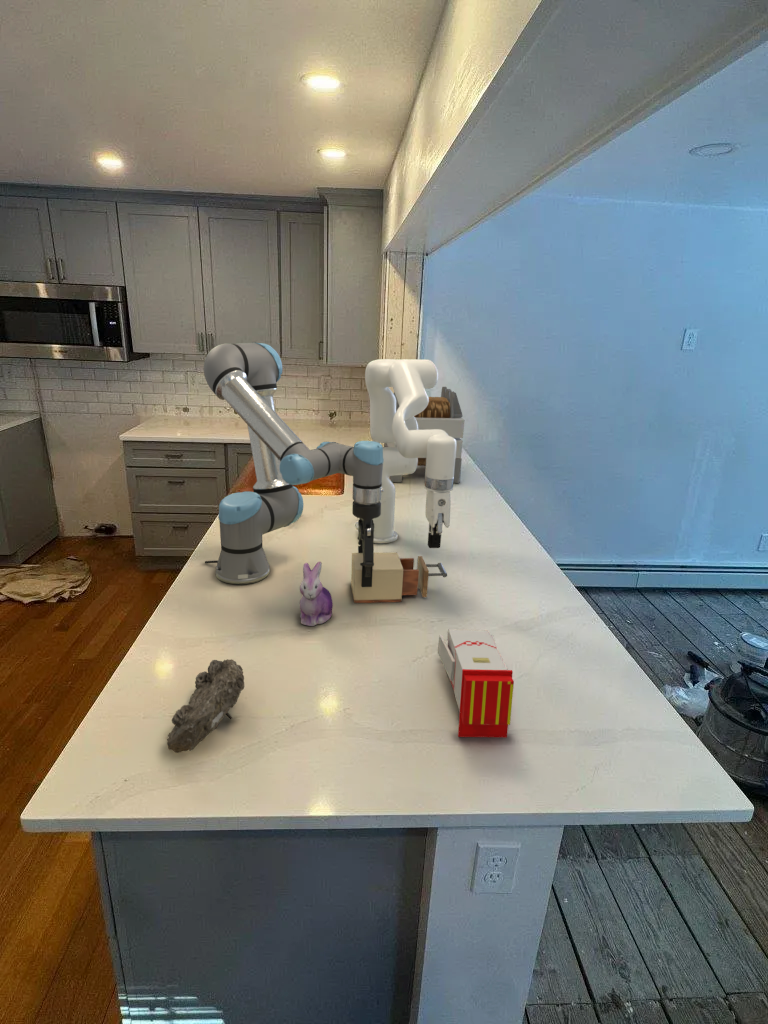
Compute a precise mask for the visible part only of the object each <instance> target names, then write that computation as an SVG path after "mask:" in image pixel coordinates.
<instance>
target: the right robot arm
mask: <svg viewBox="0 0 768 1024" xmlns="http://www.w3.org/2000/svg"><path fill="white" fill-rule="evenodd" d="M438 380H439V371H438V368H437V366H436V364H435V363H434V362H433V360H430V359H423V358H422V359H419V358H418V359H417V358H416V359H415V358H404V359H402V358H401V359H397V358H380V359H374V360H371V361H370V362H368V363H367V365H366V366H365V372H364V381H365V386H366V390H367V393H368V398H369V433H370V437H371V441H375V442H378V443H380V444H384V443H396V446H397V447H384V446H382V447H383V459H384V462H383V470H382V489H384V492H381V501H380V502H381V515H380V516H379V517H377V518H374V519H372V520H373V523H374V544H389V543H393V542H395V541H397V540H398V537H399V534H398V532H397V531H396V530H395V528H394V527H395V510H396V509H395V508H396V507H395V506H396V491H397V490H396V486H395V484H394V482H391V480H390V478H389V476H394V475H402V476H406V475H412V474H414V473H415V472H416V470H417V469H418V466H417V464H418V458H425V457H426V466H425V470H424V472H425V473H424V486H423V488H424V489H425V490H426V496H425V497H426V498H425V511H424V513H425V518H426V520H427V521H428V534H427V547H428V548H429V549H440V548H441V541H442V533H443V525H444V527H445V528H449V527H450V525H451V505H452V504H451V502H452V501H451V492H452V491H453V490H454V483H453V480H454V469H455V457H456V445H457V443H456V440H455V439H454V438H453V437H450V436H448V434H447V433H446V432H445V431H443V430H440V429H430V430H428V429H426V430H418V423H417V420H416V418H415V417H414V416H415V415H417V414H419V413H421V412H422V411H423V410H424V409H425V408H426V407H427V405H428V403H429V398H428V397H429V395H428V394H427V391H426V389H427V390H428V389H430V390H431V389H433V388H434V387H436V385H437V383H438ZM391 388H392V389H393V391H392V389H391ZM394 392H395V395H396V398H397V401H398V404H399V406H400V407H399V408H398V409H397V411H396V398H395V396H394ZM354 527H355V529H356V530H359V528H358V527H359V526H358V521H355V522H354Z"/></svg>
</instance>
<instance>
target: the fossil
mask: <svg viewBox="0 0 768 1024" xmlns="http://www.w3.org/2000/svg"><path fill="white" fill-rule="evenodd" d="M243 670H244V669H243V667H242V665H240V664H237V662H236V661H235V660H234V659H232V658H231V659H227V658H226V659H224V660H223V661H222V660H217V659H212V660H211V661H210V663H209V665H208V666H207V671H201V672H199V673H198V674H197V675H196V676H195V680H194V684H195V685H194V687H195V689H194V690H193V693H192V694H191V697H190V698H189V700H188V704H184V705H182V706H181V707H180V709H177V710H176V711H175V713H174V715H173V716H172V718H171V723H172V724H173V727H172V730H171V731H170V732H168V734H167V738H166V741H167V742H166V745H167V749H168V750H169V751H173V752H174V753H176V754H178V753H182V752H188V751H189V752H192V751H193V750H195V748H196V747H197V746H199V744H200V743H201V742H203V741H204V740H205V739H206V738H207V737H208V736H209V735H210V734H211V733H212V732H214V730H215V729H217V727H218V726H219V724H220V722H221V721H222V720H223V719H224V718H225V716H226V717H227V719H229V720H233V717H232V715H230V714H229V710H230V709H231V708H234V706H235V704H236V703H237V702H238V699H239V697H240V695H241V693H242V691H243V690H245V689H244V688H245V675H244V671H243Z"/></svg>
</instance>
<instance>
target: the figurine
mask: <svg viewBox="0 0 768 1024" xmlns="http://www.w3.org/2000/svg"><path fill="white" fill-rule="evenodd" d="M322 564H323V563H322V561H318V562H317V563H316V564H315V565H314V566H313V568H312V569H311V566H310V565H309V563H307V562H305V563H303V566H302V572H303V577H302V580H301V582H300V585H299V592H300V594H301V598H300V600H299V609H300V613H299V614H300V615H299V618H300V624H302V625H304V626H309V627H314V626H317V625H322V624H324V623H326V622H328V621H329V620H330V619H331V617H332V615H333V609H334V608H333V607H334V603H333V597H332V594H331V592H330V591H329V590H328V589H327V588H326V587H325V586H323V584H322V581H321V579H320V574H321V571H322V566H323V565H322Z"/></svg>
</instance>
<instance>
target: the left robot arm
mask: <svg viewBox="0 0 768 1024" xmlns="http://www.w3.org/2000/svg"><path fill="white" fill-rule="evenodd" d="M282 374H283V363H282V359H281V357H280V355H279V353H278V352H277V350H276V349H274V348H273V346H271V345H270V344H267V343H264V342H263V343H262V342H256V341H255V342H241V343H239V342H238V343H221V344H218V345H216V346H214V347H213V348H211V349H210V351H208V353H207V355H206V357H205V359H204V362H203V375H204V379H205V381H206V383H207V385H208V387H209V389H210V390H211V391H212V393H213V394H214V395H215V396H216V397H217V398H218V399H219V400H222V401H226V402H227V404H228V405H229V406H230V407H231V408H232V409H233V410H234V412H235V413H236V414H237V415H238V416H239V417H240V418H241V419H242V421H243V422H244V423H245V424H246V425H247V431H248V436H249V442H250V449H251V453H252V454H251V455H252V459H253V465H254V471H255V477H256V482H255V483H254V485H253V486H252V490H253V491H248V490H247V491H246V490H245V491H242V492H240V491H237V492H234V493H231V494H230V493H229V494H228V495H226V496H225V497H224V498H222V499H221V500H220V502H219V504H218V517H217V518H218V520H219V536H220V537H219V540H220V552H219V554H218V555H219V556H218V559H217V560H205V561H204V564H216V566H215V576H216V579H218V581H221V582H223V583H225V584H231V585H250V584H254V583H257V582H260V581H262V580H264V579H266V578H267V577H268V576H269V575H270V572H271V569H270V567H271V566H270V563H269V560H268V558H267V555H266V553H265V550H264V546H263V535H265V534H268V533H271V532H274V531H276V530H279V529H282V528H285V527H288V526H290V525H292V524H294V523H296V522H297V521H298V520H300V518H301V517H302V514H303V511H304V498H303V495H302V492H299V489H298V488H297V487H296V486H299V485H304V484H308V483H310V482H312V481H316V480H318V479H322V478H326V477H329V476H333V475H335V474H342V475H346V476H350V477H352V500H353V501H352V506H351V507H352V509H351V511H352V516H354V517H355V518H356V519H358V521H357V522H358V526H359V527H358V528H359V529H357V530H358V531H357V544H358V546H357V553H363V563H360V566H362V584H361V586H362V587H372V570H373V566H374V553H375V552H374V549H375V547H374V546H375V545H374V544H375V543H374V523H373V520H372V519H374V518H377V517H379V516H380V515H381V502H380V501H381V492H384V489H382V470H383V462H384V459H383V447H384V446H383V445H382V443H378V442H375V441H373V440H360V441H356V442H355V443H354V445H353V446H351V445H346V444H343V443H339V442H336V441H322V442H321V443H320V444H319V445H318V446H317V447H316V448H313V449H310V448H309V447H308V446H307V445H306V444H305V443H304V442H303V440H302V439H300V437H299V436H298V435H297V434H296V433H295V432H294V431H293V430H292V429H291V428H290V426H289V425H288V424H287V423H286V422H285V421H284V420H283V419H282V418H281V417H280V415H279V414H278V413H277V412H276V405H275V400H274V394H275V393H276V392H277V390H278V386H277V385H278V384H277V383H278V382H279V381H280V380H281V378H282V376H281V375H282Z"/></svg>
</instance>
